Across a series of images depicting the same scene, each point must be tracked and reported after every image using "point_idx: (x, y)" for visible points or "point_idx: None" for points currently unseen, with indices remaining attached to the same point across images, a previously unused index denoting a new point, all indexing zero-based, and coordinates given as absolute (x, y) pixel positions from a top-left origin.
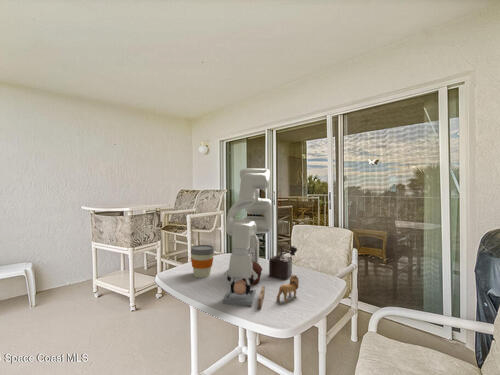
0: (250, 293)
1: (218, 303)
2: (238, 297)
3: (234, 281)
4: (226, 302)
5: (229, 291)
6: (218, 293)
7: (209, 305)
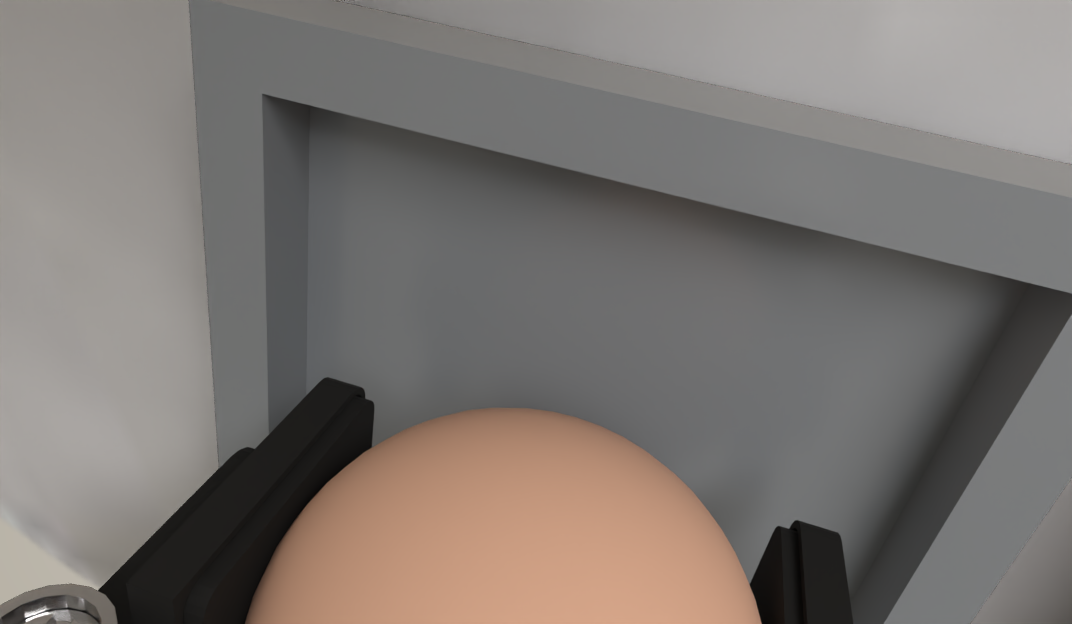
0: (931, 266)
1: None
2: None
3: (168, 602)
4: None
5: (250, 304)
6: (36, 122)
7: (105, 569)
